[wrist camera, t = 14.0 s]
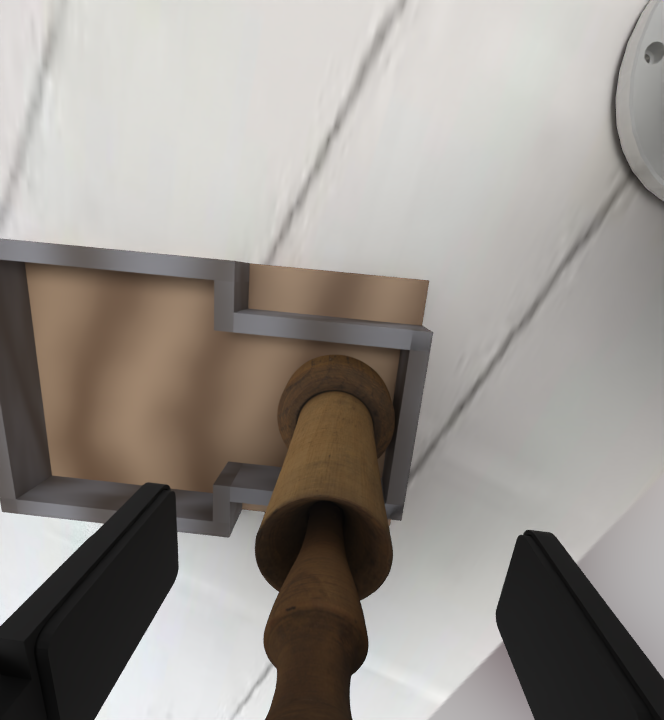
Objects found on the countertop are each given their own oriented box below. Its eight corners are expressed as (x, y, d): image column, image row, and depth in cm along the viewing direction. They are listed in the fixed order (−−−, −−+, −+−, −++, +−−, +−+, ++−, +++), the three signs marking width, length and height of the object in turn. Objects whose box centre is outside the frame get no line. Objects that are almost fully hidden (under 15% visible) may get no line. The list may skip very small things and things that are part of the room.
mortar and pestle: (262, 408, 20) (-249, 1191, 3) (330, 330, 19) (145, 937, 2) (342, 473, 21) (317, 1383, 4) (413, 403, 20) (900, 1326, 2)
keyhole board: (424, 280, 19) (441, 280, 16) (388, 515, 23) (395, 556, 20) (21, 242, 20) (-47, 234, 16) (52, 478, 23) (2, 511, 20)
